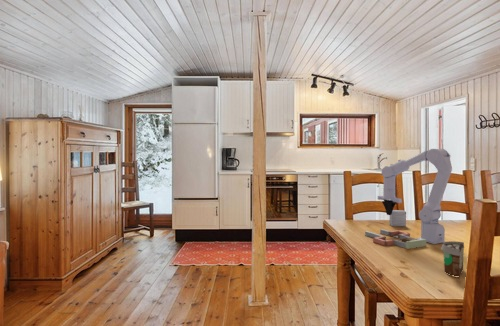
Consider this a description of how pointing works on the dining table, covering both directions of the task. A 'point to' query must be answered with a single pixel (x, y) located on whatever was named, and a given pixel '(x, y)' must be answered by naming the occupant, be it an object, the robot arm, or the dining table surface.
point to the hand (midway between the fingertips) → (389, 214)
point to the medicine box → (398, 218)
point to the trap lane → (399, 235)
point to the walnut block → (408, 239)
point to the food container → (453, 257)
